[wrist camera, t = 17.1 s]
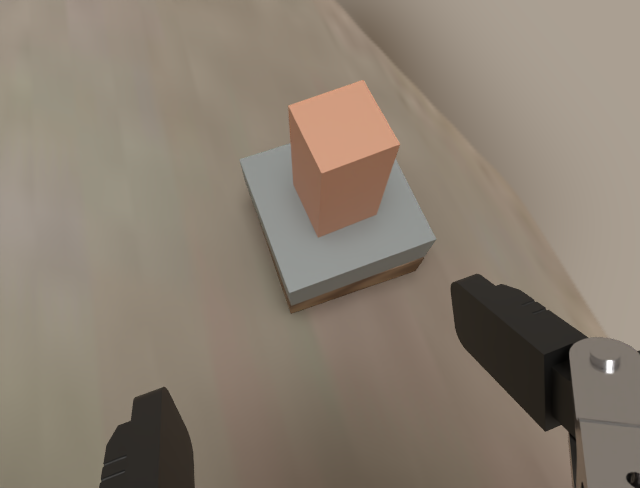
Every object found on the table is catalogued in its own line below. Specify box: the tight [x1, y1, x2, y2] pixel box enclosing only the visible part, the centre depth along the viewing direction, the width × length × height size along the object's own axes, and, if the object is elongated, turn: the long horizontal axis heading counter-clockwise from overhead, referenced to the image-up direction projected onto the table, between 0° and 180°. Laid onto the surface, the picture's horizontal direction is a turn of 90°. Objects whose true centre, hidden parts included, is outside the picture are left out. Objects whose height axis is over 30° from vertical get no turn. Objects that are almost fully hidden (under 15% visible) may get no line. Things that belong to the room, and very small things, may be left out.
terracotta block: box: [288, 80, 400, 238], centre depth 33 cm, size 5×5×10 cm
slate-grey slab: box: [239, 143, 436, 306], centre depth 39 cm, size 12×12×4 cm
